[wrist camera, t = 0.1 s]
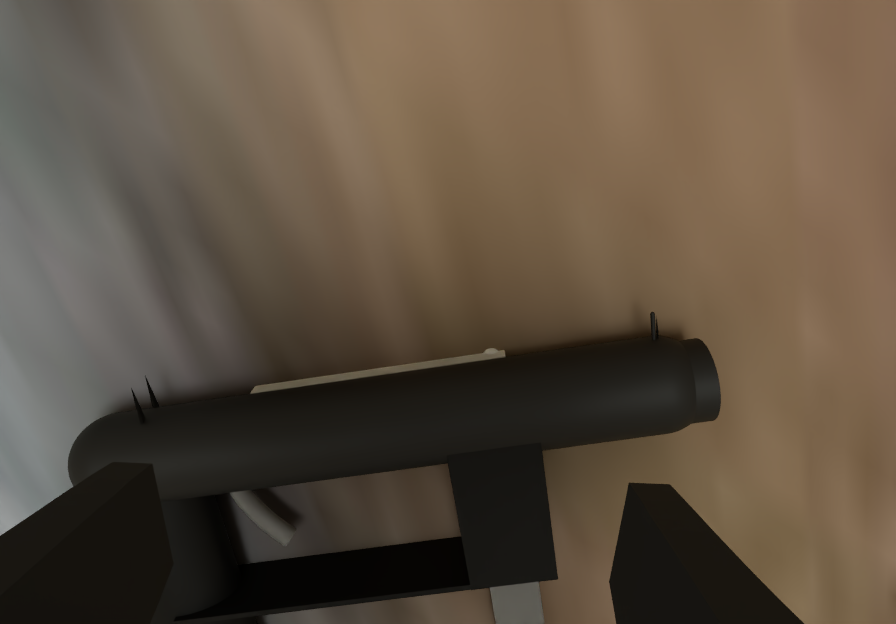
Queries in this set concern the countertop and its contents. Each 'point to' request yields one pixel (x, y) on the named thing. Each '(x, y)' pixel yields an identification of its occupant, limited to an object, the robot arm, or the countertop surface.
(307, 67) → the countertop surface
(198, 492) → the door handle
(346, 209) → the countertop surface
